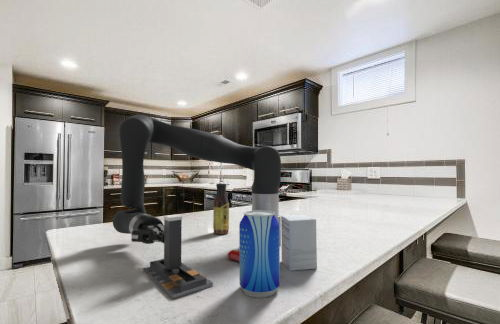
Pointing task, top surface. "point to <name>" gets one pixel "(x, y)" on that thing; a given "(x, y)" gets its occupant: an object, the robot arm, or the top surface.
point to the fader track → (176, 279)
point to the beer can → (259, 253)
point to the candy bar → (234, 255)
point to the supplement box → (299, 242)
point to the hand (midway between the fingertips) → (168, 239)
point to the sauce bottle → (221, 211)
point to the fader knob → (172, 242)
